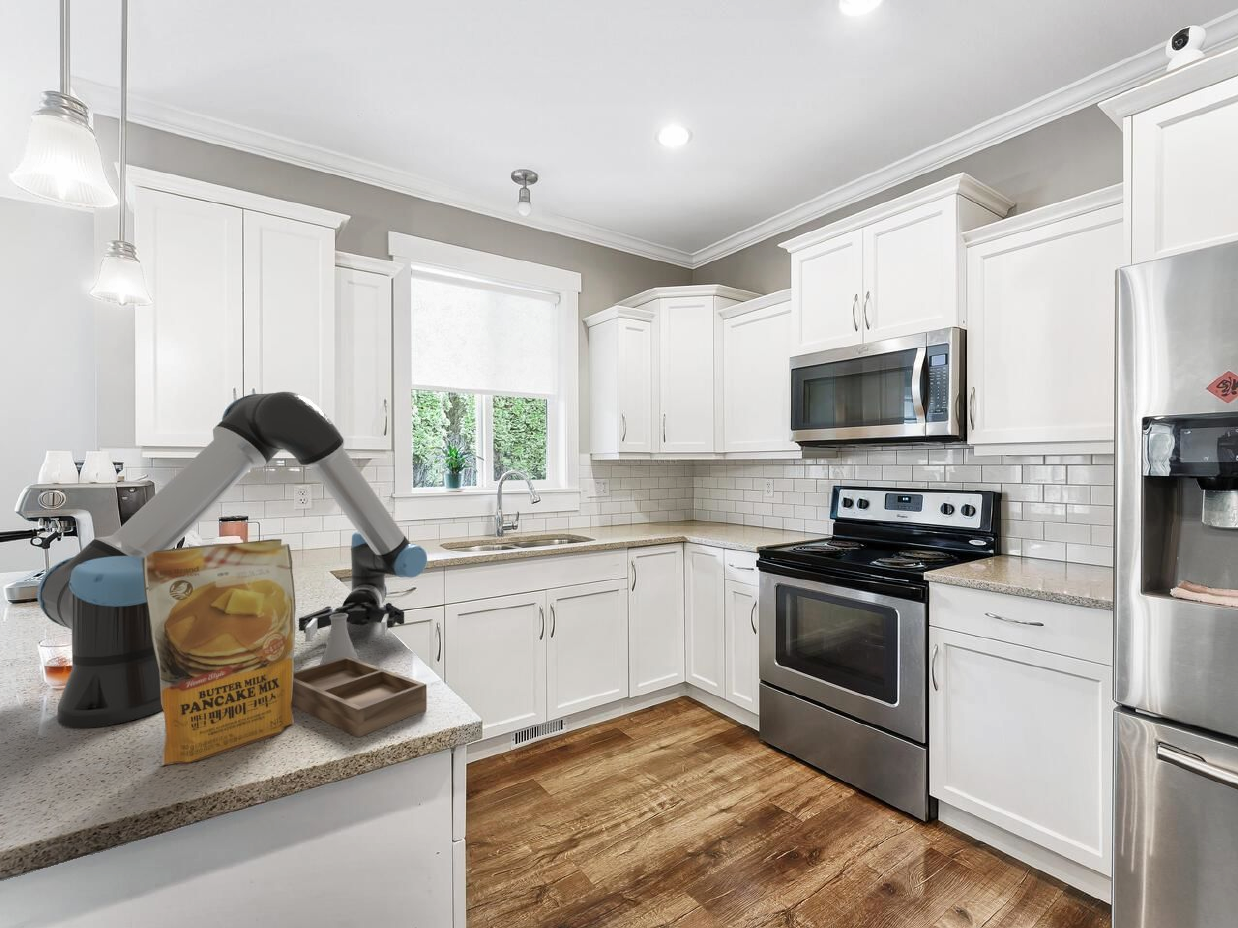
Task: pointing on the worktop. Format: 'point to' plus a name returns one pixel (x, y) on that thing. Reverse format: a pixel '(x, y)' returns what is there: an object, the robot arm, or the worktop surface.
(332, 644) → the flask
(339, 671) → the wooden tray
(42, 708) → the worktop surface
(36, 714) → the worktop surface
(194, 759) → the pancake mix bag
